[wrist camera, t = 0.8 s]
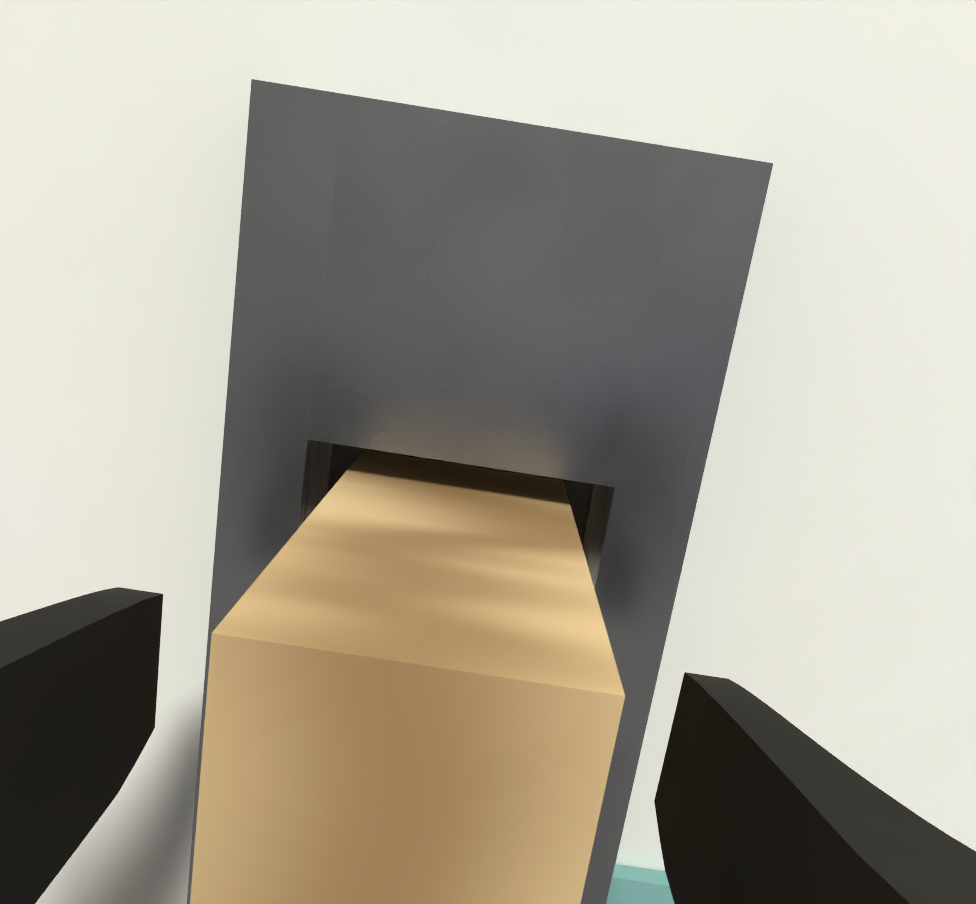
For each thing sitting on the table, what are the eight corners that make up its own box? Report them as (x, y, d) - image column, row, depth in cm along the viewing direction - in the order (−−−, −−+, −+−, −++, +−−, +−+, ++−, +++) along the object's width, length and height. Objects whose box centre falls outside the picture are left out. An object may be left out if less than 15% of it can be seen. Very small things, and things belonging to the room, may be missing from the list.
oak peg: (563, 481, 15) (625, 696, 7) (529, 662, 16) (553, 1027, 8) (363, 449, 15) (211, 632, 7) (341, 634, 16) (185, 973, 8)
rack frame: (731, 181, 14) (775, 162, 12) (516, 1180, 19) (518, 1300, 17) (291, 109, 14) (249, 77, 11) (199, 1134, 19) (158, 1248, 17)
